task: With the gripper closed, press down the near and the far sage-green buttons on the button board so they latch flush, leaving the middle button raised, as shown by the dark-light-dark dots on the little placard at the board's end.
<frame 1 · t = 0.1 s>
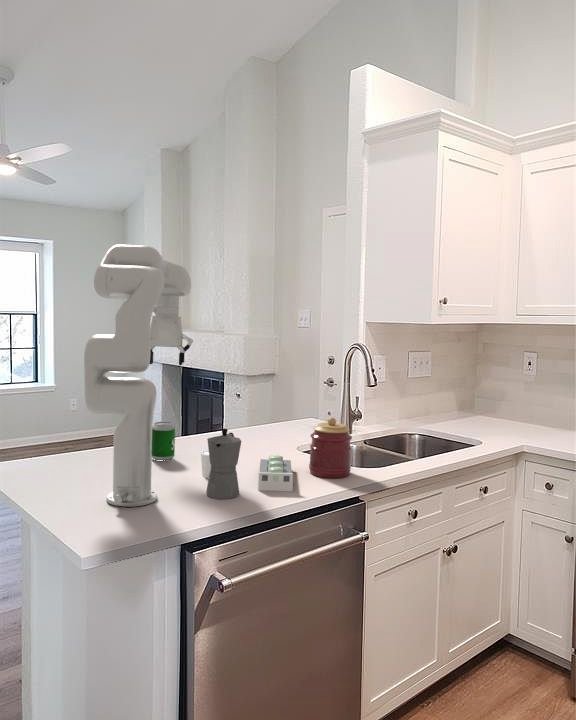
hand: (165, 364, 199), 31 cm above the worktop, tool pointing down, fingers open, 9 cm apart
button middle: (275, 467, 181), point 4 cm above the worktop, slide at 0.0 cm
button near: (275, 473, 174), point 4 cm above the worktop, slide at 0.0 cm
canister: (329, 474, 190), on the worktop
white cup: (211, 476, 182), on the worktop
button far: (275, 461, 188), point 4 cm above the worktop, slide at 0.0 cm
button board: (275, 479, 181), on the worktop
soda can: (162, 460, 200), on the worktop
coffeepot: (223, 494, 166), on the worktop
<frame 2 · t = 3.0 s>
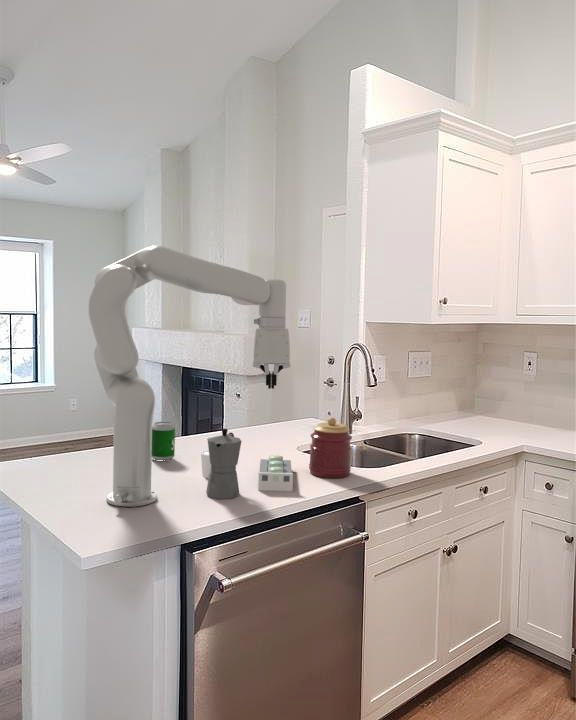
hand: (271, 388, 173), 28 cm above the worktop, tool pointing down, fingers closed
nothing on the worktop moved.
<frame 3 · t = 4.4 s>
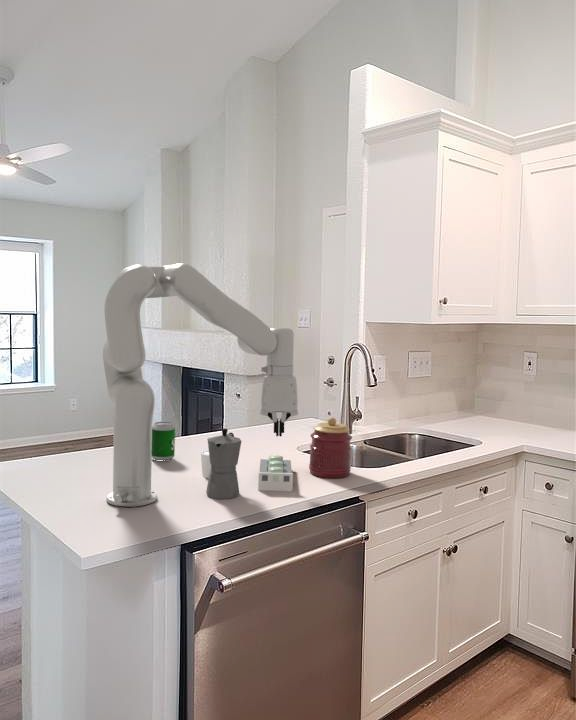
hand: (278, 435, 173), 15 cm above the worktop, tool pointing down, fingers closed
nothing on the worktop moved.
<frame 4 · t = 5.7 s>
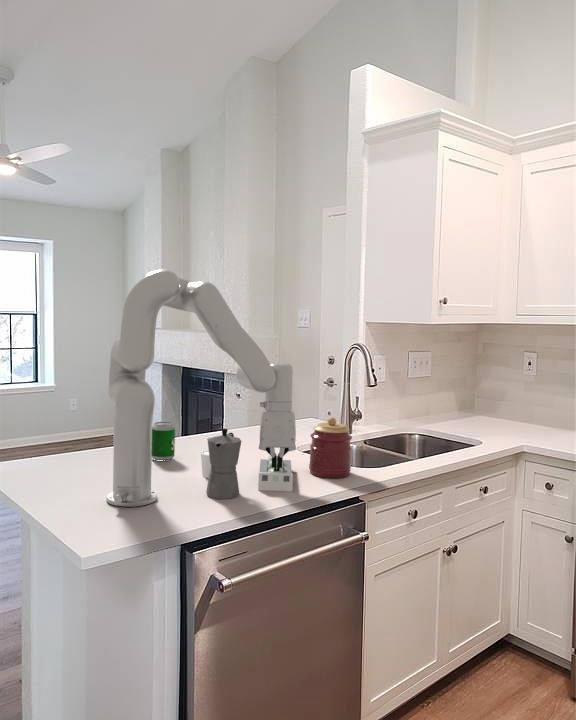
hand: (276, 470, 174), 5 cm above the worktop, tool pointing down, fingers closed
button near: (275, 475, 174), point 3 cm above the worktop, slide at 0.5 cm, touching gripper
everything else where it was.
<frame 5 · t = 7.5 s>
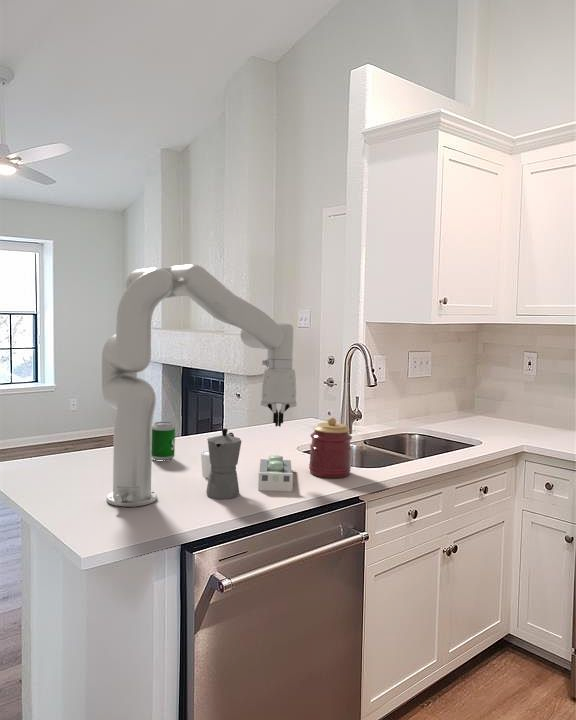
hand: (278, 425, 183), 16 cm above the worktop, tool pointing down, fingers closed
button near: (275, 478, 174), point 2 cm above the worktop, slide at 1.4 cm
everything else where it was.
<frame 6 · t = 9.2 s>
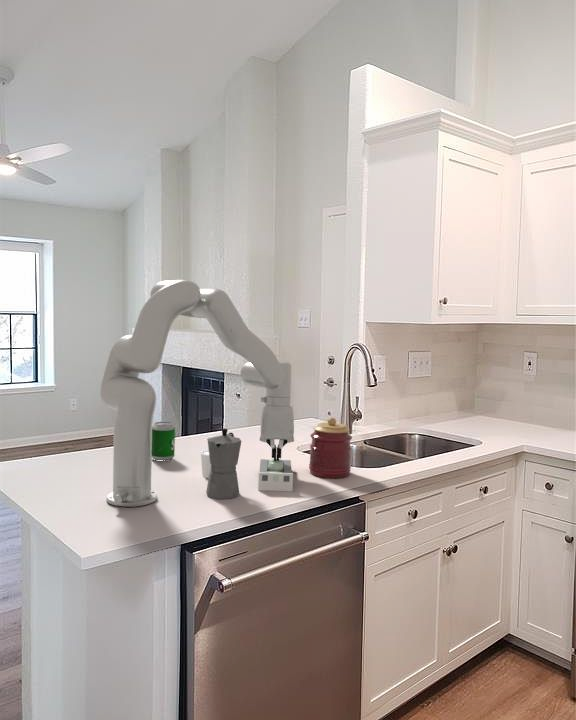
hand: (276, 460, 188), 4 cm above the worktop, tool pointing down, fingers closed
button far: (275, 464, 188), point 3 cm above the worktop, slide at 1.1 cm, touching gripper
everything else where it was.
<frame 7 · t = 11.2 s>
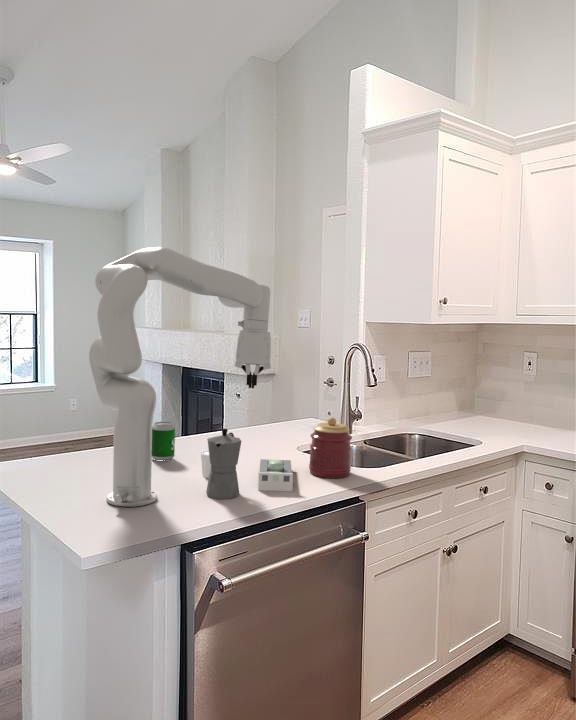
hand: (251, 387, 182), 27 cm above the worktop, tool pointing down, fingers closed
button far: (275, 465, 188), point 2 cm above the worktop, slide at 1.4 cm
everything else where it was.
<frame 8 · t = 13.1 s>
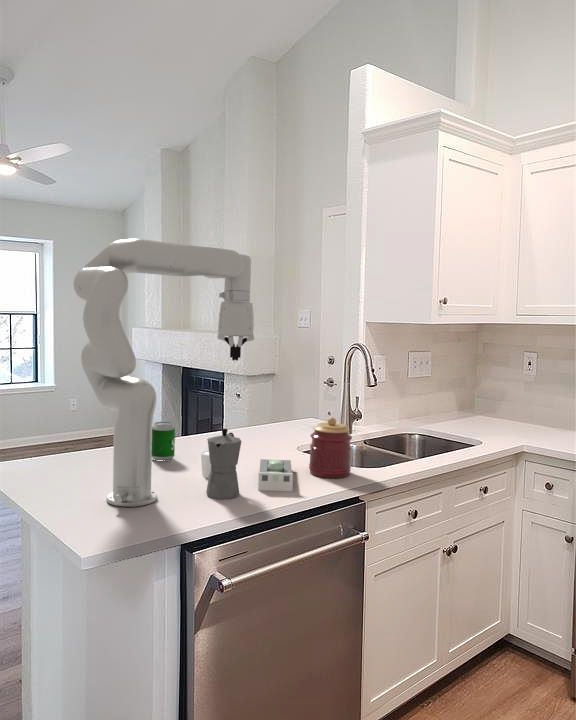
hand: (235, 360, 179), 35 cm above the worktop, tool pointing down, fingers closed
nothing on the worktop moved.
at the end: button near slide at 1.4 cm; button far slide at 1.4 cm; button middle slide at 0.0 cm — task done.
